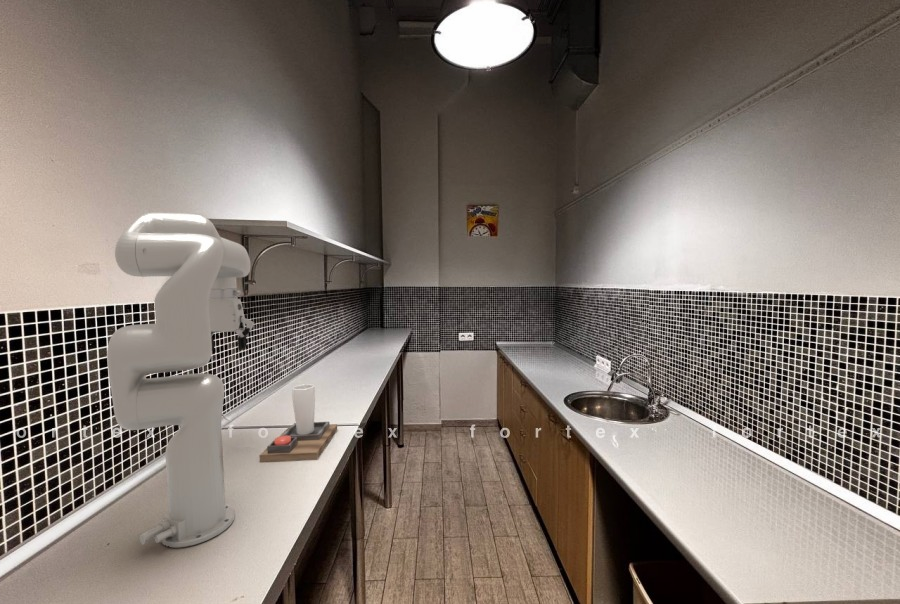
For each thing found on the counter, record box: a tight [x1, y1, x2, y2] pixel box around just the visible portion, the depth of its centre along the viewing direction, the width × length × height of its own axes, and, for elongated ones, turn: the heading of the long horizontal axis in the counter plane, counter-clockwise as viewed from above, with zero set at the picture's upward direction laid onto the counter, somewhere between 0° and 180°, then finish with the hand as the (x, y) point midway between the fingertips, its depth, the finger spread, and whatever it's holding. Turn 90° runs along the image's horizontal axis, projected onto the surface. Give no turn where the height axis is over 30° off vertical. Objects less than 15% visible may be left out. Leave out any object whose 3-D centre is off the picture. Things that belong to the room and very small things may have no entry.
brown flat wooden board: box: [258, 421, 338, 463], centre depth 117 cm, size 22×16×4 cm
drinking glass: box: [291, 383, 316, 435], centre depth 121 cm, size 7×7×15 cm
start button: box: [273, 435, 291, 446], centre depth 110 cm, size 4×4×2 cm
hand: (226, 350), depth 116 cm, fingers open, 9 cm apart
